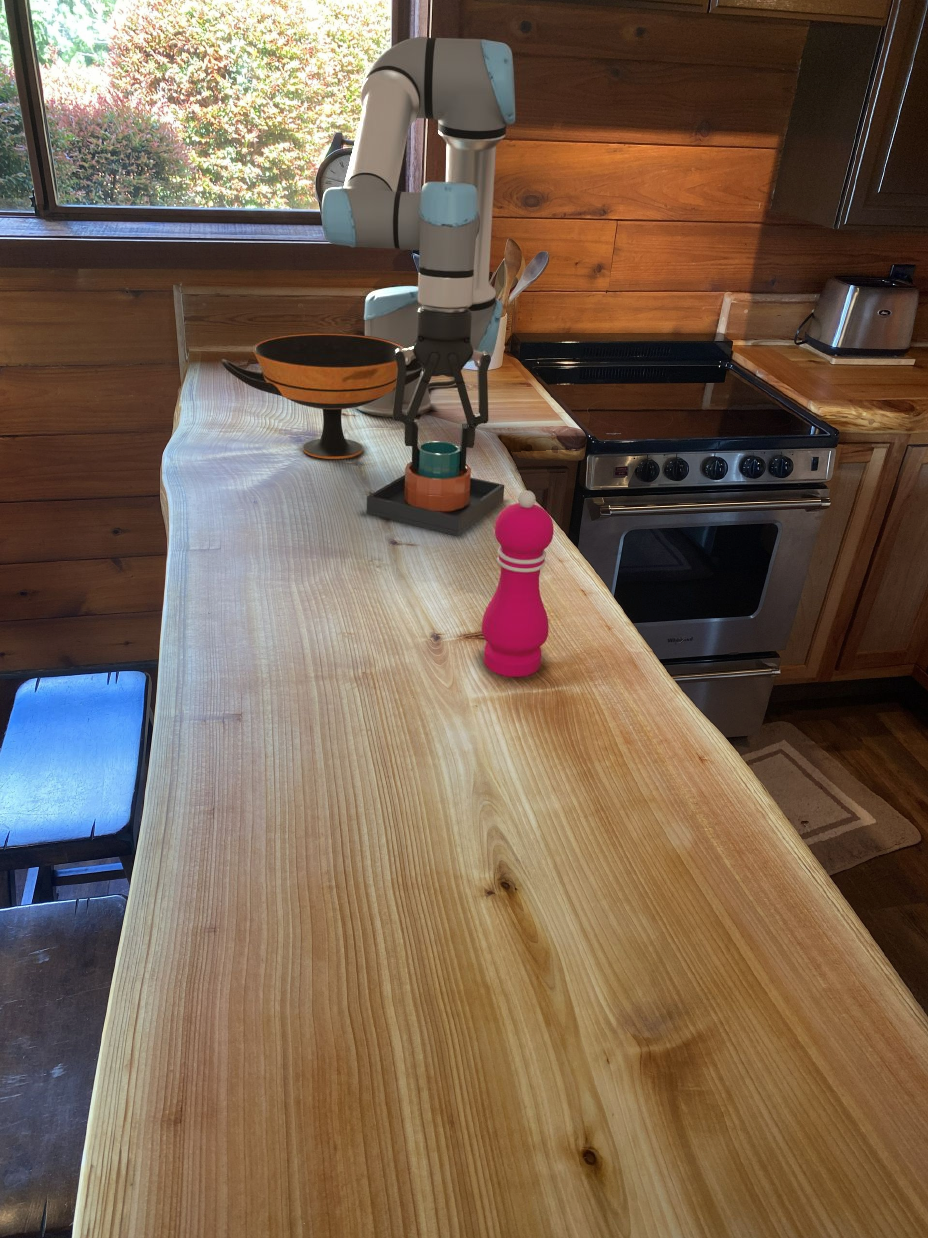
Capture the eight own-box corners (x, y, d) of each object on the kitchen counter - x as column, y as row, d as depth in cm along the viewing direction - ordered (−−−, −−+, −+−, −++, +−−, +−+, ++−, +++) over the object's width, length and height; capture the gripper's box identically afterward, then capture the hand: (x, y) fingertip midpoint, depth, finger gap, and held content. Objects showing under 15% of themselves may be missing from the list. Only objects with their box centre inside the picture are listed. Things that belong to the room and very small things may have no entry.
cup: (241, 482, 143) (233, 370, 134) (218, 434, 163) (210, 335, 155) (453, 465, 155) (458, 362, 147) (407, 423, 176) (409, 330, 167)
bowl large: (423, 486, 143) (425, 453, 140) (479, 499, 140) (481, 465, 137) (393, 506, 135) (393, 471, 133) (451, 519, 132) (453, 484, 129)
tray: (418, 482, 147) (418, 466, 146) (503, 501, 142) (504, 484, 140) (366, 514, 134) (366, 496, 133) (457, 536, 129) (458, 518, 127)
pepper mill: (499, 686, 95) (514, 508, 85) (467, 653, 100) (478, 483, 91) (557, 672, 98) (578, 499, 88) (523, 640, 103) (539, 475, 94)
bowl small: (429, 466, 139) (430, 438, 137) (466, 474, 137) (468, 446, 135) (409, 478, 134) (409, 449, 132) (447, 487, 132) (448, 457, 130)
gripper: (511, 304, 128) (500, 460, 139) (374, 299, 126) (373, 457, 137) (518, 314, 121) (505, 477, 132) (373, 308, 120) (372, 474, 131)
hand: (438, 467), depth 135 cm, fingers closed on bowl small, 6 cm apart
